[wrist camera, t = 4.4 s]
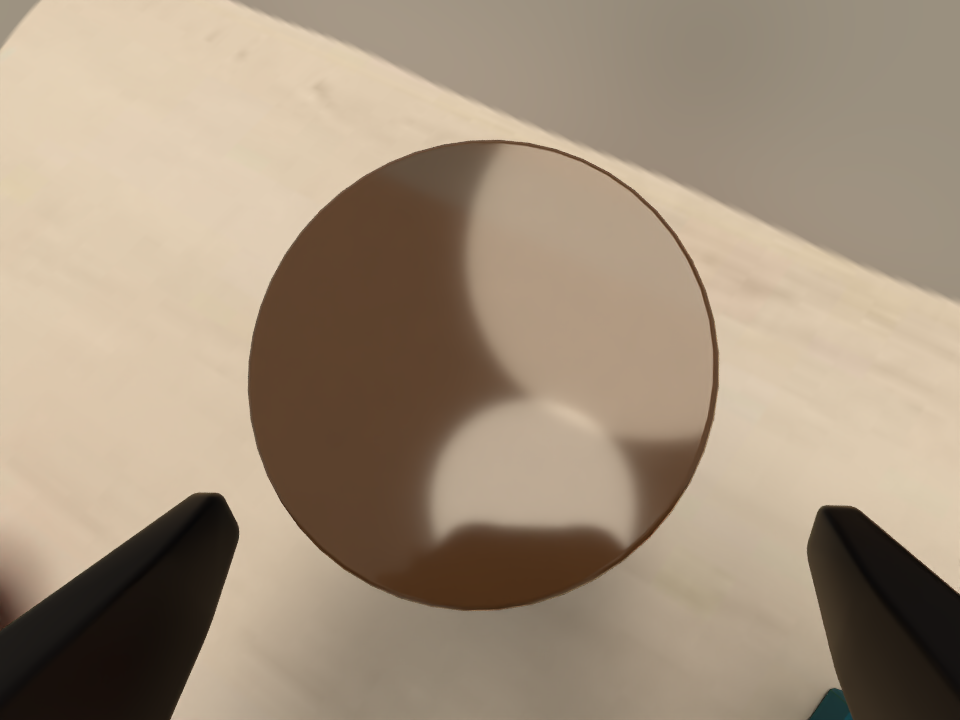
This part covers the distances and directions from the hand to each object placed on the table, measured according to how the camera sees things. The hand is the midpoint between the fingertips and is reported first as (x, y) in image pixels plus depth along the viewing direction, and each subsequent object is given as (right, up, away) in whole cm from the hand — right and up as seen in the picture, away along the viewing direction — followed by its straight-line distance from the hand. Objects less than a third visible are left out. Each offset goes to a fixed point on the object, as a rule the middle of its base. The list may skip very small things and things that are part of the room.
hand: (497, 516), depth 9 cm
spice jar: (+2, 0, +10) cm, 10 cm away
